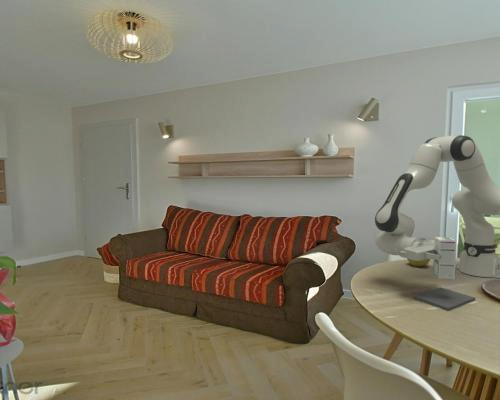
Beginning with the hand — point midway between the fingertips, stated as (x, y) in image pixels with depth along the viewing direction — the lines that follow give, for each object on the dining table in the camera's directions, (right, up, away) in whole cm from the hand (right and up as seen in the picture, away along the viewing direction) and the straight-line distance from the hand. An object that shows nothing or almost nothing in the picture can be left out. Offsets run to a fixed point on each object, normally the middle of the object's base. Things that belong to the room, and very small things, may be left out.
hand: (446, 255), depth 123 cm
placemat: (0, -17, +2) cm, 17 cm away
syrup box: (0, -8, +1) cm, 8 cm away
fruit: (+13, -13, +46) cm, 50 cm away
